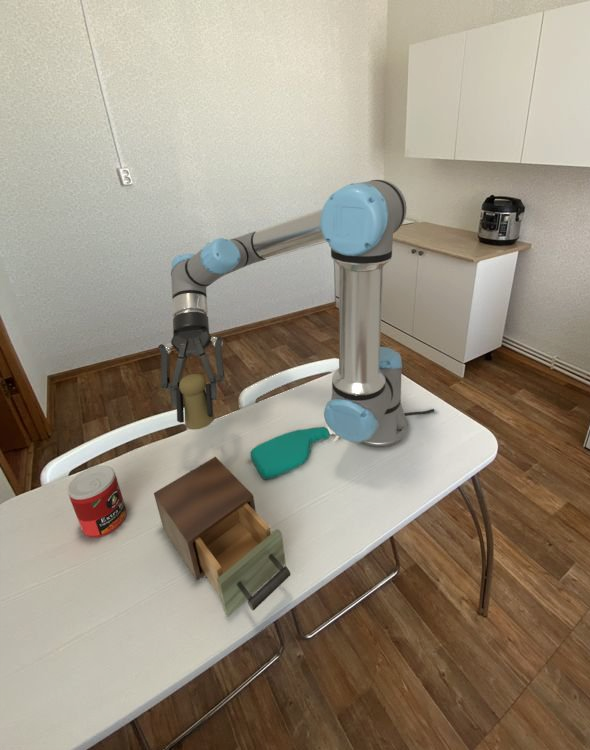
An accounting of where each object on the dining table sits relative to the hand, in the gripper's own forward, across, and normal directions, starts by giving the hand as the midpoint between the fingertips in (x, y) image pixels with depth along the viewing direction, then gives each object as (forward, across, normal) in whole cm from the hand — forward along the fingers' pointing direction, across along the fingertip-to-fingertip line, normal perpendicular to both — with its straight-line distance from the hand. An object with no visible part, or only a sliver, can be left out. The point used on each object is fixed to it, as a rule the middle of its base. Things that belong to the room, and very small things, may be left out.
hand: (195, 418), depth 80 cm
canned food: (+15, +20, -10) cm, 27 cm away
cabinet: (+21, -1, -4) cm, 22 cm away
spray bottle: (+10, -22, -16) cm, 29 cm away
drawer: (+29, -7, +4) cm, 30 cm away
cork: (0, 0, -5) cm, 5 cm away
